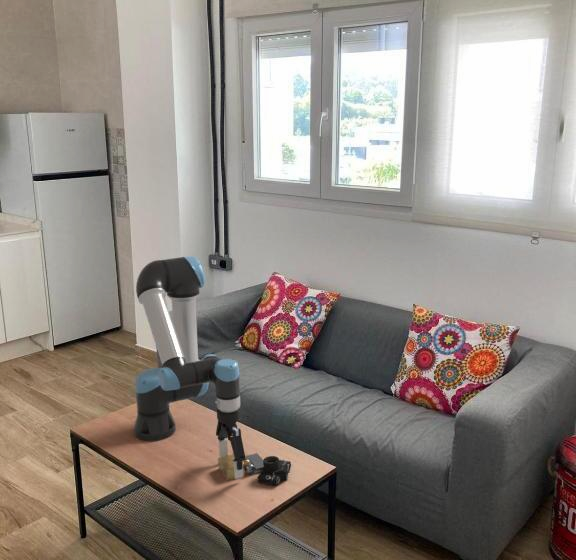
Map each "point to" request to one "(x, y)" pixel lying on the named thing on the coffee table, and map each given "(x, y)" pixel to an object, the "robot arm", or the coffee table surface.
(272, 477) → the film camera
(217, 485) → the coffee table surface
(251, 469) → the steel hinge leaf
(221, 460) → the gold knuckled block
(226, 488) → the coffee table surface
